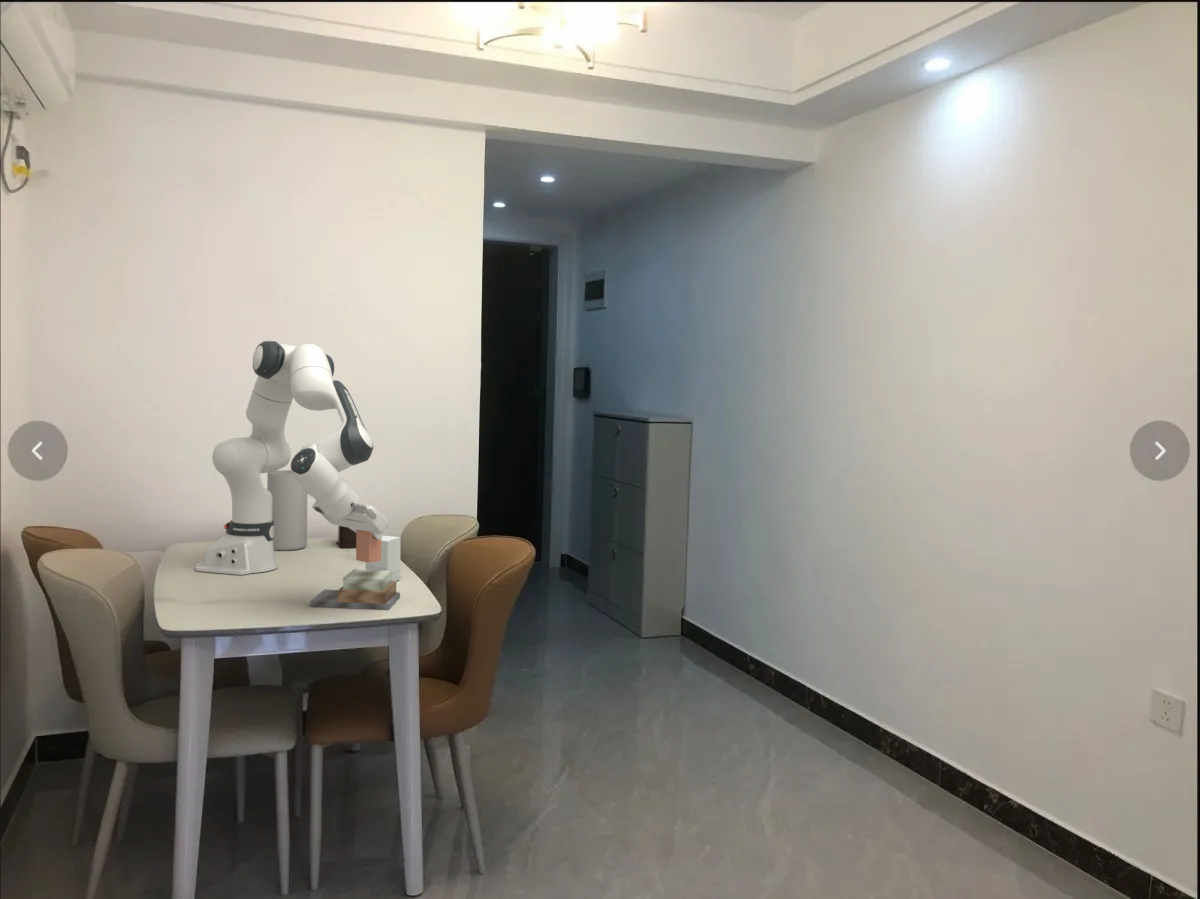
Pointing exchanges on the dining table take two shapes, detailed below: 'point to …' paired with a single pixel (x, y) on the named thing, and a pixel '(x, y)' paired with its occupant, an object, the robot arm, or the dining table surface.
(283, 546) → the cylinder vase
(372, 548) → the block
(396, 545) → the supplement box
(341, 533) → the manual coffee grinder
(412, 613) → the dining table surface
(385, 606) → the build plinth
